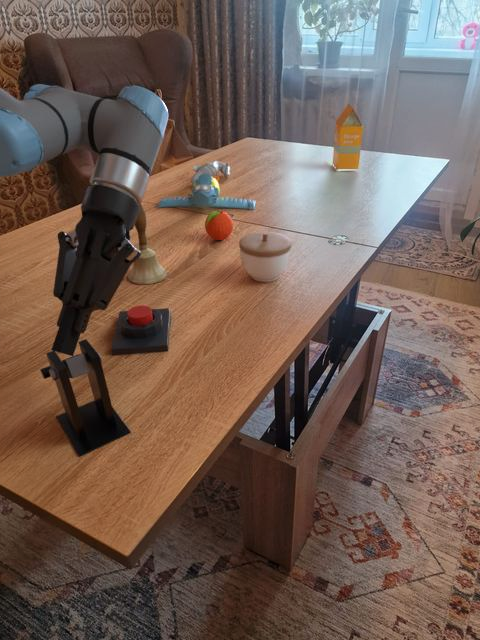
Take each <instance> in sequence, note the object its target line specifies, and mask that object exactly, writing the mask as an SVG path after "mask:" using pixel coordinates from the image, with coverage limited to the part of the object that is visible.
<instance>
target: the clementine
mask: <svg viewBox="0 0 480 640" xmlns="http://www.w3.org/2000/svg"><path fill="white" fill-rule="evenodd" d="M204 229H205V232H206V234H207V235H208V236H209V237H210V238H211V239H214V240H216V241H223V240H226V239H227V238H229V237H230V236H231V235H232V233H233V230H234V222H233V219H232V217H231V216H230V214H228V213H227V212H226V211H224V210H214V211H212V212H211V213H209V214H208V215H207V216H206V219H205V222H204Z"/></svg>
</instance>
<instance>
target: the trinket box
mask: <svg viewBox="0 0 480 640" xmlns="http://www.w3.org/2000/svg"><path fill="white" fill-rule="evenodd" d="M238 246H239V253H240V262H241V264H242V267H243V269H244V271H245V272H246V273H247V274H248V275H249V276H250V277H251V279H253V280H254V281H256V282H260V283H270V282H274V281H276V280H278V279H280V276H282V275H283V274H284V273H285V271H286V270H287V268H288V266H289V263H290V261H291V253H292V251H291V250H292V239H291V238H290V237H288V236H287V235H285V234H282V233H279V232H274V231H256V232H252V233H249V234H246V235H244V236H242V237H241V238H240V239H239V245H238Z"/></svg>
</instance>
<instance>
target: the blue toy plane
mask: <svg viewBox="0 0 480 640" xmlns="http://www.w3.org/2000/svg"><path fill="white" fill-rule="evenodd" d="M220 179H221V178H220V176H219V175H214V178H213V177H211V175H208V174H207V173H206V174H202V175H200V176H199V178H198V179H196V180H194V181H195V182H194V185H193V184H192V185H191V193H188V195H187V196H173V197H167V198H166V197H163V198H162V199H161V200H160V201H159V202H158V204H157V209H162V208H179V207H181V208H183V207H185V208H186V207H187V208H189V207H190V208H191V207H198V208H201V209H203V208H205V207H210V208H227V209H240V210H241V209H243V210H249V211H255V208H256V204H257V203H256V202H257V201H256V200H255V199H252V200H251V199H249V198H248V199H246V198H241V197H238V198H237V197H227V196H225V197H223V196H220V192H221V189H220V184H219V182H220V181H219V180H220Z"/></svg>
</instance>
